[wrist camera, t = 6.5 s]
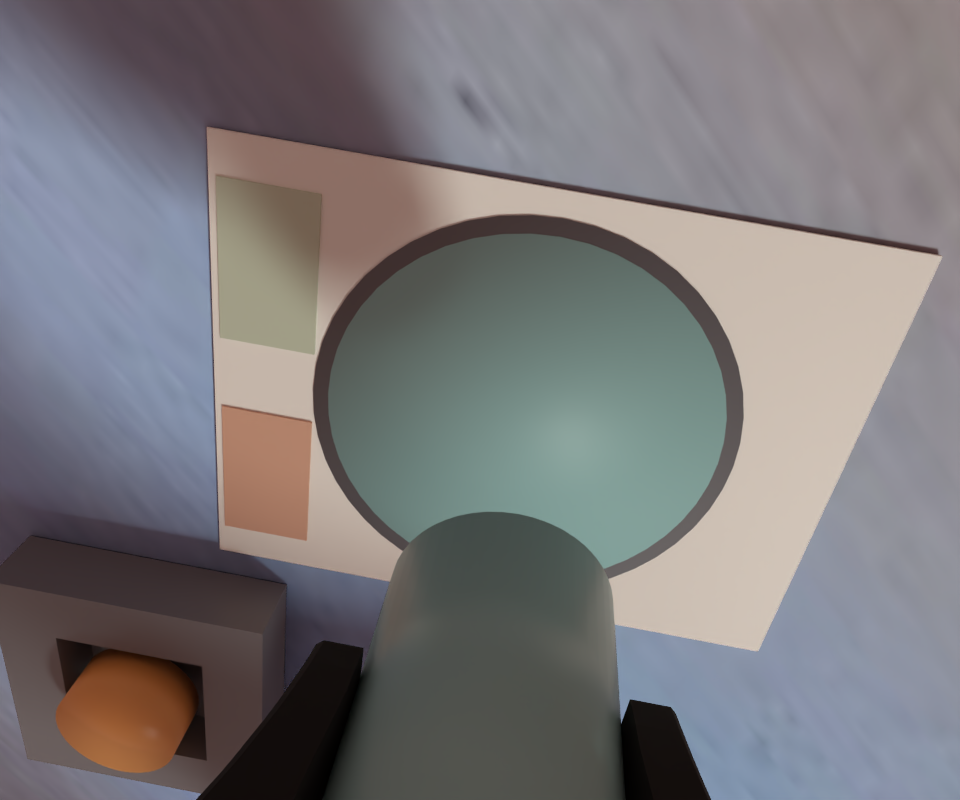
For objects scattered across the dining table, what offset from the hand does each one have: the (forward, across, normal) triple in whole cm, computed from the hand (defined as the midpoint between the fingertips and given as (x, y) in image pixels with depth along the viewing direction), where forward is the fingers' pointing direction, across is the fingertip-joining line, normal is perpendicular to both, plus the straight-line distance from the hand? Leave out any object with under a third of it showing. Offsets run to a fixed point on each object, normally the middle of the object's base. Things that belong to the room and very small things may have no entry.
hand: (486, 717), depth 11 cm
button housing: (+9, +10, +11) cm, 17 cm away
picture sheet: (+9, 0, 0) cm, 9 cm away
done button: (+7, +10, +11) cm, 17 cm away
